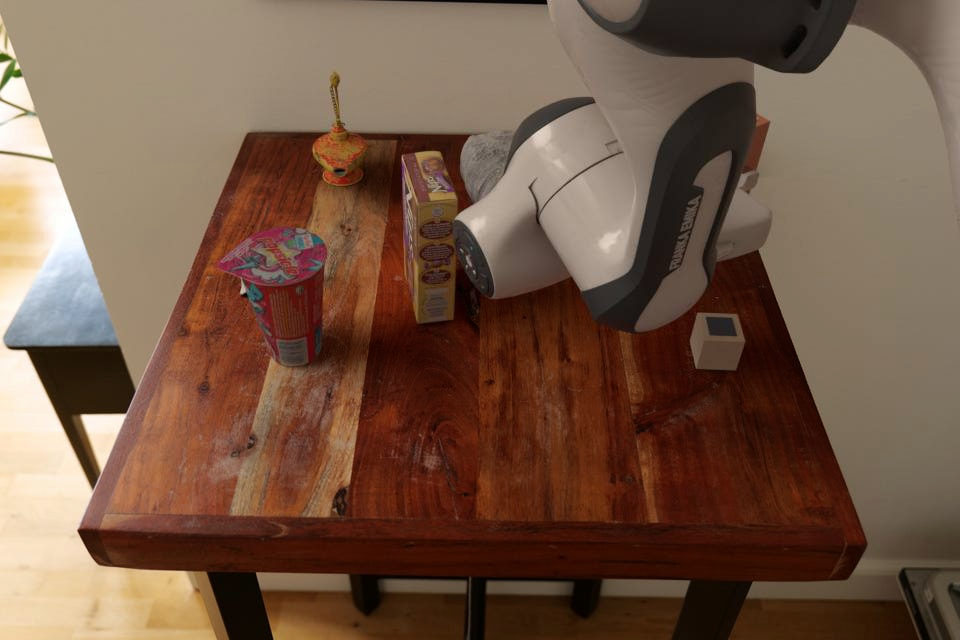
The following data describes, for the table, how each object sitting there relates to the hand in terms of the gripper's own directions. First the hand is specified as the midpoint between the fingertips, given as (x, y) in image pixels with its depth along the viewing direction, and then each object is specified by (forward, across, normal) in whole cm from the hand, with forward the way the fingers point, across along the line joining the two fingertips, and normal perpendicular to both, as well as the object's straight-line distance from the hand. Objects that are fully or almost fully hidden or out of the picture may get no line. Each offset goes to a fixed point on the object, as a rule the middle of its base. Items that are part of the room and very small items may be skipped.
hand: (729, 160), depth 82 cm
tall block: (-1, 0, +7) cm, 7 cm away
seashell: (-9, +21, +17) cm, 28 cm away
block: (-5, -8, +17) cm, 19 cm away
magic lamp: (-23, +40, +17) cm, 49 cm away
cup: (-41, +15, +17) cm, 47 cm away
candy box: (-25, +15, +17) cm, 34 cm away
